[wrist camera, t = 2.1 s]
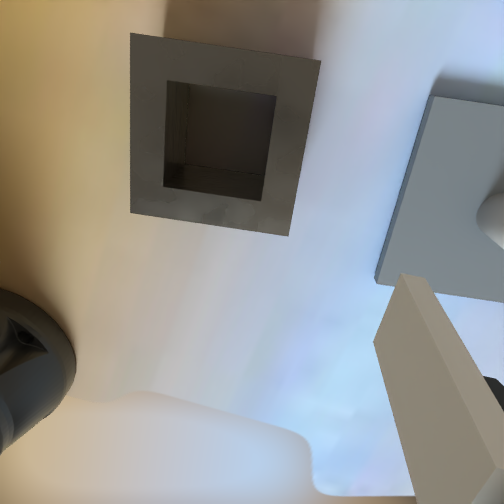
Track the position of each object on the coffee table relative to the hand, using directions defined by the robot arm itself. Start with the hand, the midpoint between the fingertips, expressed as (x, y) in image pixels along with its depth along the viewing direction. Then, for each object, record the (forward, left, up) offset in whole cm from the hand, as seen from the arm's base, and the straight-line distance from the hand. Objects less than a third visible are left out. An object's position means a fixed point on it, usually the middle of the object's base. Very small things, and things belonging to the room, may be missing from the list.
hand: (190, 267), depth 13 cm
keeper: (+19, -1, -18) cm, 26 cm away
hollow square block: (-1, +2, -18) cm, 18 cm away
